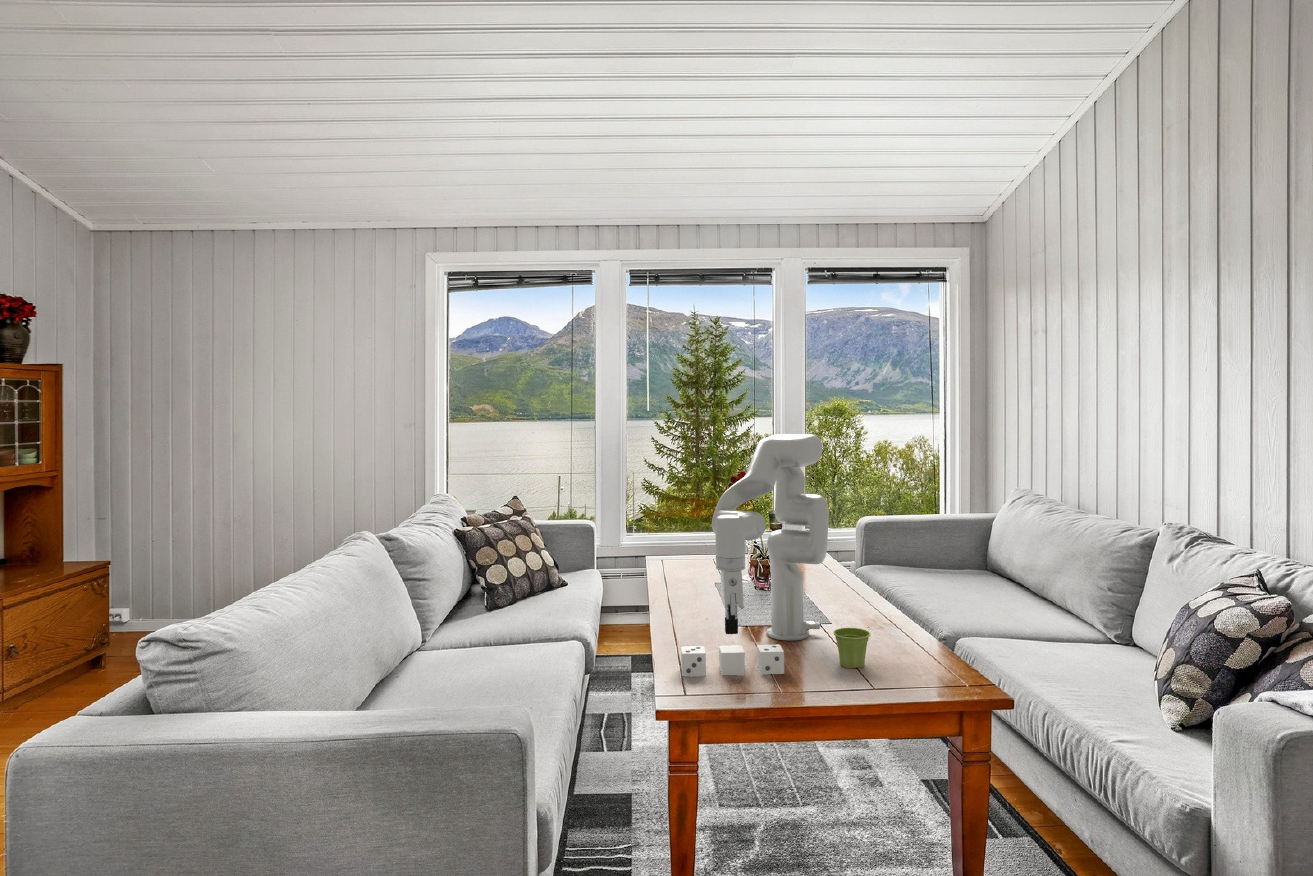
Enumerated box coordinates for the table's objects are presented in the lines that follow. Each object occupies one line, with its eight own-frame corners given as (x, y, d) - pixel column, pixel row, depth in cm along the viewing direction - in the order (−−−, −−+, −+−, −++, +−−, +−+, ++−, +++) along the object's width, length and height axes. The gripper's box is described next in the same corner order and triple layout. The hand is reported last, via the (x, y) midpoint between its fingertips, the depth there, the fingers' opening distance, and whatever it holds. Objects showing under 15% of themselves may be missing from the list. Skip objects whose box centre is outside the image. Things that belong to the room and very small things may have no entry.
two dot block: (780, 667, 205) (779, 644, 205) (784, 675, 199) (783, 651, 198) (757, 667, 205) (757, 644, 205) (760, 675, 199) (760, 651, 198)
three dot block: (704, 668, 205) (703, 645, 204) (705, 676, 199) (705, 652, 198) (681, 669, 205) (680, 646, 204) (682, 677, 198) (682, 653, 198)
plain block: (742, 667, 205) (741, 645, 204) (745, 675, 199) (744, 652, 198) (719, 668, 205) (719, 645, 204) (721, 676, 199) (721, 652, 198)
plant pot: (864, 673, 199) (864, 639, 198) (828, 667, 204) (828, 634, 203) (875, 662, 206) (874, 630, 206) (840, 657, 211) (840, 625, 211)
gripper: (748, 568, 193) (749, 641, 194) (741, 557, 208) (742, 625, 209) (718, 569, 193) (719, 642, 194) (713, 557, 208) (714, 625, 209)
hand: (731, 633), depth 201 cm, fingers closed
